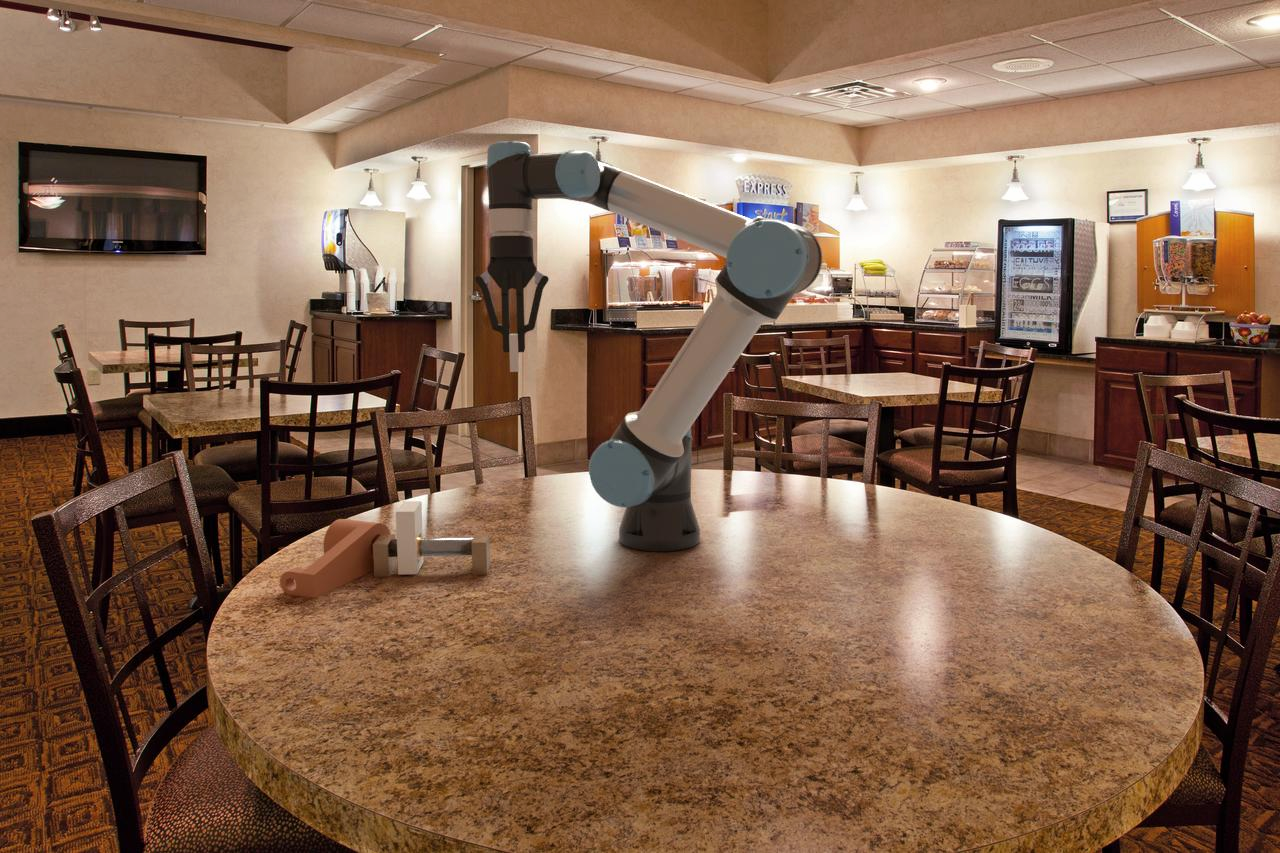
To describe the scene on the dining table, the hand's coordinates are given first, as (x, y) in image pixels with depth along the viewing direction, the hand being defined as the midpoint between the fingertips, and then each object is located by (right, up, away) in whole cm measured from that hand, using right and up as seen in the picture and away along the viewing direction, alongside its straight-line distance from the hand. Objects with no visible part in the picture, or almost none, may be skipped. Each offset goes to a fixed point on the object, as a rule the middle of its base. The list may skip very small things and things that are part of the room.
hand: (514, 370), depth 165 cm
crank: (-28, -35, -11) cm, 46 cm away
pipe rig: (-13, -34, -8) cm, 37 cm away
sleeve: (-16, -34, -8) cm, 39 cm away
